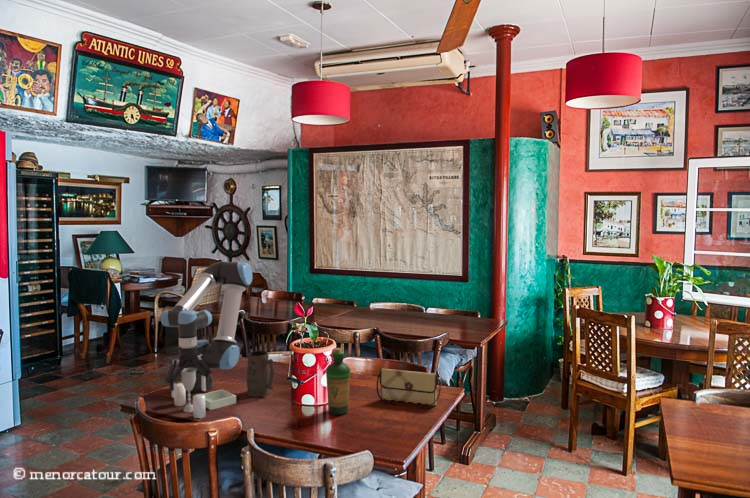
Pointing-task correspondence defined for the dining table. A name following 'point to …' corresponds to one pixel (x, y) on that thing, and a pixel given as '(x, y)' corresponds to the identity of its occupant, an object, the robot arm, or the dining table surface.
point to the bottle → (338, 384)
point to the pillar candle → (199, 406)
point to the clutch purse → (408, 386)
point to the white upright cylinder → (180, 395)
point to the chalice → (188, 385)
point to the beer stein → (259, 374)
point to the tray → (219, 399)
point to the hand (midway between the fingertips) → (189, 393)
